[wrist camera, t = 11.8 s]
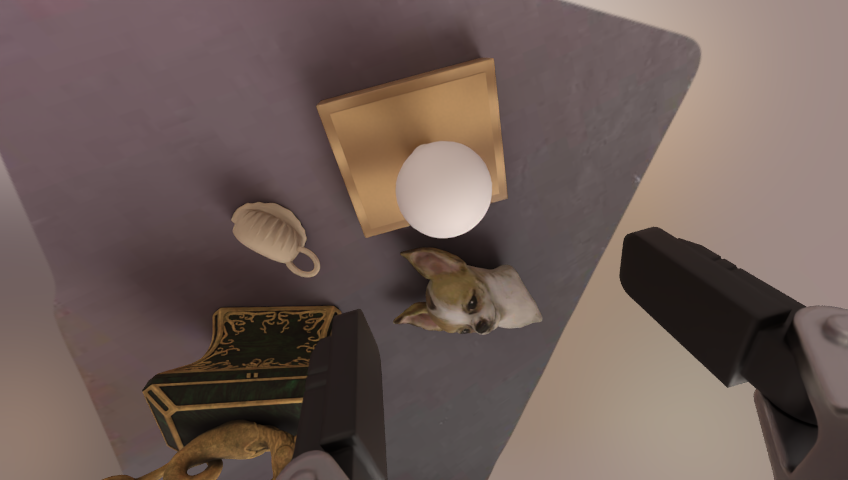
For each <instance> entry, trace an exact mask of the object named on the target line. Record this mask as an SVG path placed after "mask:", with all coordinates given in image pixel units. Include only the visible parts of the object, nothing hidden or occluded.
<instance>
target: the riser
mask: <svg viewBox="0 0 848 480" xmlns="http://www.w3.org/2000/svg"><path fill="white" fill-rule="evenodd" d="M316 108H317V110H318V113H319V116H320V118H321V121H322V124H323V126H324V129H325V131H326V134H327V137H328V139H329V142H330V145H331V147H332V150H333V153H334V155H335V158H336V161H337V163H338V166H339V169H340V171H341V174H342V177H343V179H344V182H345V185H346V187H347V190H348V193H349V195H350V198H351V201H352V203H353V206H354V209H355V211H356V214H357V217H358V219H359V222H360V225H361V227H362V230H363V233H364V235H365V237H366V238H367V237H371V236H374V235H378V234H382V233H385V232H389V231H392V230H396V229H400V228H403V227H407V226H410V224H409V223H408V222H407V221H406V219H405V218H404V216H403V215H402V213H401V212H400V209H399V206H398V204H397V198H396V181H397V177H398V174H399V172H400V169H401V167H402V165H403V163H404V162H405V161H406V159H407V158H408V157H409V156H410V155H411V154H412V153H413V151H414V150H415V148H417V147H418V146H420V145H422V144H429V143H432V142H438V141H450V142H456V143H460V144H463V145H465V146H467V147H469V148H471V149H472V150H473V151H474V152H475V153H476V154H478V155H479V156H480V157H481V159H482V160H483V161H484V163H485V164H486V166H487V169H488V171H489V173H490V177H491V182H492V197H491V202H490V203H493V202H497V201H500V200H504V199H507V198H508V195H507V185H506V175H505V165H504V156H503V146H502V136H501V126H500V116H499V106H498V96H497V86H496V76H495V66H494V59H493V58H478V59H474V60H470V61H467V62H463V63H459V64H455V65H452V66H448V67H444V68H441V69H437V70H433V71H429V72H426V73H422V74H418V75H415V76H411V77H407V78H403V79H400V80H396V81H392V82H388V83H385V84H381V85H377V86H374V87H370V88H366V89H362V90H359V91H355V92H351V93H348V94H344V95H340V96H336V97H333V98H329V99H325V100H321V101H320V102H319V103H318V105H317V106H316Z"/></svg>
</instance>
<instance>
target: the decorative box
mask: <svg viewBox="0 0 848 480" xmlns="http://www.w3.org/2000/svg"><path fill="white" fill-rule="evenodd" d="M339 314H341V311H340V310H339V309H337V308H336V307H334V306H300V307H240V308H220V309H219V310H217V311H216V312H215V313H214V314H213V337H212V342H211V345H210V347H209V349H208V351H207V352H206V354H205V355H204V356H203V357H202V358H201V359H200V360H198V361H196V362H194V363H192V364H189V365H186V366H182V367H179V368H175V369H172V370H169V371H165V372H162V373H159V374H157V375H155V376H154V377H153V378H152V379H150V380H149V381H148V383H147V384H146V386H145V387H144V389H143V390H142V391H143V394H144V397H145V399H146V401H147V403H148V405H149V407H150V409H151V412H152V414H153V416H154V418H155V420H156V422H157V425H158V427H159V429H160V431H161V433H162V435H163V437H164V440H165V442H166V444H167V446H168V447H170V448H172V449H174V450H176V451H177V453H176V454H175V455H174V457H173V458H172V459H171V461H170V462H169V463H167V464H166V465H164V466H162V467H161V468H159V469H157V470H155V471H153V472H151V473H148V474H146V475H144V476H142V477H139V478H137V479H135V478H132V477H130V476H128V475H117V476H111V477H108V478H105V479H102V480H158V479H160V478H161V477H162V476H163V480H216V479H217V478H218V476H219V475H220V473H221V471H222V467H223V462H222V459H250V458H254V457H257V456H259V455H261V454H263V453H264V452H266V451H271V456H272V469H273V478H272V480H276V478H277V476H278V475H279V474H280V472H281V471H282V470H283V469H284V467H285V466H286V465H287V464H288V463H289V462H291V459H292V457H293V452H294V448H295V442H296V436H297V430H298V424H299V419H300V413H301V407H302V401H303V395H304V392H305V384H306V378H307V376H308V374H307V372H308V366H309V360H310V355H311V354H312V352H313V350H314V348H315V347H316V345H317V343H318V341H319V340H320V339H321V338H325V337H328V336H331V333H332V324H333V318H334V316H336V315H339ZM203 463H207V465H208V467H207V468H206V469H205V470H204V471H203V472H201V473H199V474H197V475H194V476H190V475H188V474H187V470H188V469H190V468H192V467H194V466H198V465H201V464H203Z"/></svg>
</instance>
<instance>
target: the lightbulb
mask: <svg viewBox="0 0 848 480" xmlns="http://www.w3.org/2000/svg"><path fill="white" fill-rule="evenodd" d="M491 197H492V182H491V177H490V173H489V171H488V169H487V166H486V164H485V163H484V161H483V160H482V159H481V157H480V156H479V155H478V154H476V153H475V152H474V151H473V150H472V149H471V148H469V147H467V146H465V145H463V144H460V143H456V142H450V141H438V142H432V143H429V144H422V145H420V146H418V147H417V148H415V150H414V151H413V153H412V154H411V155H410V156H409V157H408V158H407V159H406V161H405V162H404V163H403V165H402V167H401V169H400V172H399V174H398V177H397V181H396V198H397V204H398V206H399V209H400V212H401V213H402V215H403V216H404V218H405V219H406V221H407V222H408V223H409V224H410V225H411V226H412V227H413V228H415V229H416V230H418V231H419V232H421V233H423V234H425V235H428V236H430V237H435V238H451V237H456V236H459V235H462V234H464V233H466V232H468V231H469V230H471V229H472V228H473V227H475V226H476V225H477V224H478V223H479V222H480V221H481V220H482V218H483V217H484V215H485V214H486V212H487V210H488V208H489V205H490V202H491Z"/></svg>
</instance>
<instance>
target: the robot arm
mask: <svg viewBox="0 0 848 480" xmlns="http://www.w3.org/2000/svg"><path fill="white" fill-rule="evenodd" d="M620 281H621V284H622V286H623V288H624V290H625V292H626V293H627V294H628V295H629V296H630V297H631V298H632V299H633V300H634V301H635V302H636V303H638V304H639V305H640V306H641V307H642V308H643V309H644V310H645V311H646V312H647V313H648V314H649V315H650V316H652V317H653V318H654V319H655V320H656V321H657V322H658V323H659V324H660V325H661V326H662V327H663V328H664V329H665V330H666V331H667V332H669V333H670V334H671V335H672V336H673V337H674V338H675V339H676V340H677V341H678V342H679V343H680V344H681V345H682V346H683V347H685V348H686V349H687V350H688V351H689V352H690V353H691V354H692V355H693V356H694V357H695V358H696V359H697V360H698V361H700V362H701V363H702V364H703V365H704V366H705V367H706V368H707V369H708V370H709V371H710V372H711V373H712V374H714V375H715V376H716V377H717V378H718V379H719V380H720V381H721V382H722V383H723V384H724V385H725V386H726V387H727V388H728V387H731V386H735V385H738V384H742V383H745V382H749V383H751V384H752V385H753V386H754V387H755V388H756V390H755V392H754V402H755V405H756V409H757V412H758V417H759V421H760V425H761V428H762V432H763V436H764V440H765V443H766V447H767V451H768V455H769V459H770V462H771V466H772V470H773V475H774V480H848V310H847V309H843V308H838V307H832V306H809V307H806V306H804V305H803V304H801V303H799V302H797V301H796V300H794V299H792V298H791V297H789V296H787V295H785V294H784V293H782V292H780V291H779V290H777V289H775V288H773V287H772V286H770V285H768V284H767V283H765V282H763V281H762V280H760V279H758V278H756V277H755V276H753V275H751V274H749V273H748V272H746V271H744V270H743V269H741V268H740V269H738V268H737V267H736V265H734V264H733V263H731V262H729V261H727V260H726V259H721V256H719V255H717V254H715V253H714V252H712V251H710V250H709V249H707V248H705V247H704V246H702V245H699V244H695V243H693V242H690V241H686V240H683V239H680V238H678V239H677V238H675V237H674V236H672V235H670V234H669V233H667V232H665V231H664V230H662V229H660V228H658V227H651V228H647V229H644V230H640V231H637V232H634V233H630V234H627V235H626V236H625V238H624V241H623V249H622V257H621V267H620ZM307 374H308V376H307V378H306V384H305V392H304V395H303V401H302V407H301V413H300V419H299V424H298V430H297V436H296V442H295V448H294V452H293V457H292V459H291V462H289V463H288V464H287V465H286V466H285V467H284V469H283V470H282V471H281V472H280V474H279V475H278V476H277V478H276V480H388V479H387V461H386V443H385V425H384V408H383V390H382V372H381V360H380V354H379V350H378V347H377V344H376V341H375V339H374V337H373V335H372V332H371V330H370V328H369V326H368V323H367V321H366V319H365V317H364V314H363V312H362V311H361V309H357V310H353V311H350V312H346V313H343V314H339V315H336V316H334V318H333V324H332V333H331V336H328V337H325V338H321V339H320V340H319V341H318V343H317V345H316V347H315V348H314V350H313V352H312V354H311V355H310V360H309V366H308V372H307Z"/></svg>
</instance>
